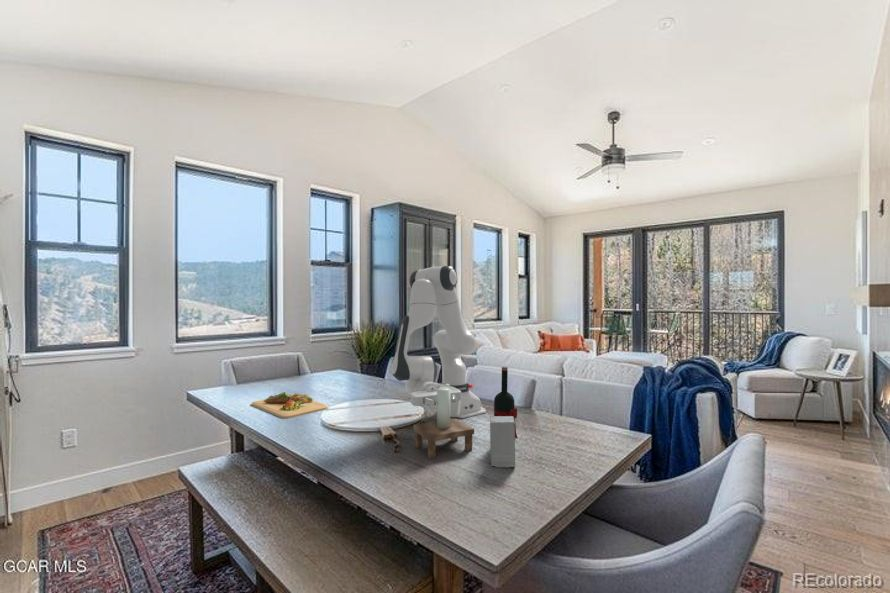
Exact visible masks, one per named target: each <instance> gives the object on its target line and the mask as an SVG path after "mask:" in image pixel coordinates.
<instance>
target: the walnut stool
mask: <svg viewBox="0 0 890 593" xmlns="http://www.w3.org/2000/svg"><path fill="white" fill-rule="evenodd" d="M413 431H414V432H415V433H414V434H415V435H414V436H415V438H414V440H415V442H414V444H415V445H414V447H416V448H417V449H418V448H422V447H423V438H424V439H425V440H426V441H427V457H428V458H429V459H434V458H436V442H437V441H442V440H443V441H444V440H449V439H450V441H451V442H457V441H459V440H458V438H460V437H464V450H465V451H466V452H471V451H473V435H475V428H473V427H472V426H471V425H468V424H467V423H465V422H463V421H461V420H459V419H457V417H454V418H450V428H447V429H440V428H437V420H436V421H429V422H423V423H417V424H413Z"/></svg>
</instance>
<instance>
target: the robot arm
mask: <svg viewBox="0 0 890 593" xmlns="http://www.w3.org/2000/svg"><path fill="white" fill-rule="evenodd" d="M457 283H458V273H457V271H456V269H455V268H453V266H450V265H443V266H430V267H427V268H423V269H417V270H414V271H412V272H411V275H410V277H409V286H410V288H411V289H410V290H411V291H410V296H409V310H408V312H407V315H404V316H403V318H402V320H401V321H400V325H399V330H398V334H397V340H396V345H395V351H394V355H393V359H392V361H391V367H390V373H391V375H392V376H393V377H394V378H395V379H396V380H397V381H400V382H402V381H406V382H405V389H406V392H407V393H408V394H407V395H406V396H405V398H406V399H407V400H409V402H410V404H411V405H412V406H413V407H421V406H437V388H441V387H447V388H450V418H460V419H465V418H470V417H473V416H479V415H481V414H486V412H487V411H486V408H484V407H483V406H482V403H481V399H480V398H479V397H478V396H477V395H475V394H474V393H473V391H471V390H470V389H473V388H474V385H473V384H472V383H467V381H466V380H467V367H466V364H465V363H464V362H463V360H462V357H461V356H468V355H469V356H470V355H471V354H473V353H474V352H475V351H476V349H477V346H478V345H477V344H478V343H477V338H476V337H475V336H474V335H473V334H472V332H470V330H469V329H468V327H467V324H466V323H465V321H464V320H465V319H464V318H463V315H462V311H461V305H460V300H459V296H458V292H457V289H456V286H457ZM435 317H437V320H438V322H439V323H440V324H441V326H442V327H443V329H440V330H438V331H436V332H435V334H434V336H433V344H434V347H435V348H436V350H437V351H438V354H439V357H440V363H441V366H442V367H441V368H442V369H441V370H442V373H441V374H442V375H441V376H442V378H441V379H442V382H441V383H440V382H435V380H436V379H437V375H438V366H437V363H436V362H435V360H434V359H433V357H432V356H430V355H409V354H408V349H409V345H410V337H411V334H412V333H413V332H414V331H416V330H418V329H420V328H423V327H426V326H428V325H430V324H431V323H433V321H434V319H435Z"/></svg>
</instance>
